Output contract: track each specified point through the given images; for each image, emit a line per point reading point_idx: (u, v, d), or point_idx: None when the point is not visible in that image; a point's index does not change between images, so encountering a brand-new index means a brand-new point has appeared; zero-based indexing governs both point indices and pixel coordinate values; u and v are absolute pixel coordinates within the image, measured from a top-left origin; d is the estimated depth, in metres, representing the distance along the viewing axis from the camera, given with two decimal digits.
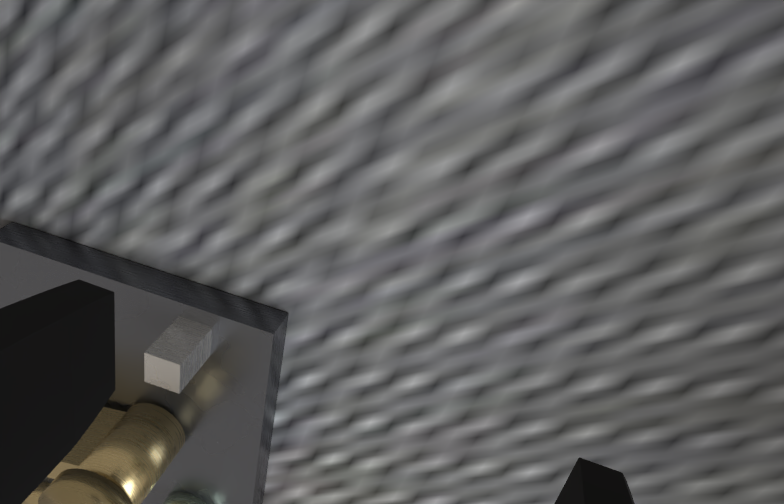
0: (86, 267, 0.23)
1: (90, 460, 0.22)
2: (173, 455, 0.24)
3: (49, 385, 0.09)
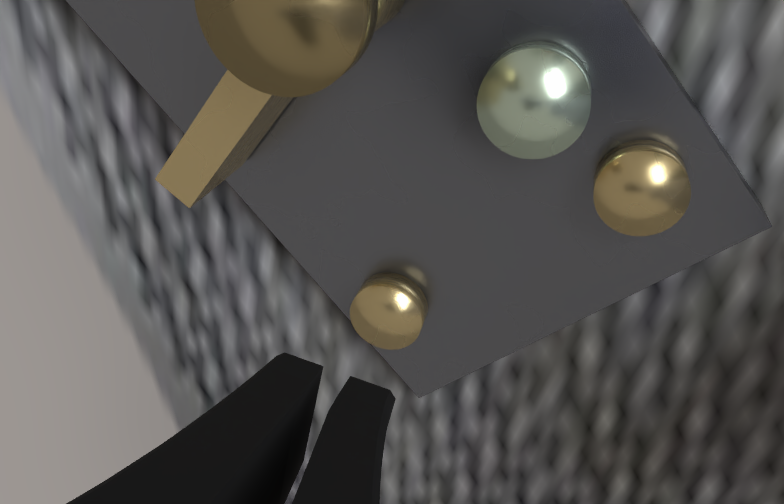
0: None
1: None
2: None
3: (275, 470, 0.09)
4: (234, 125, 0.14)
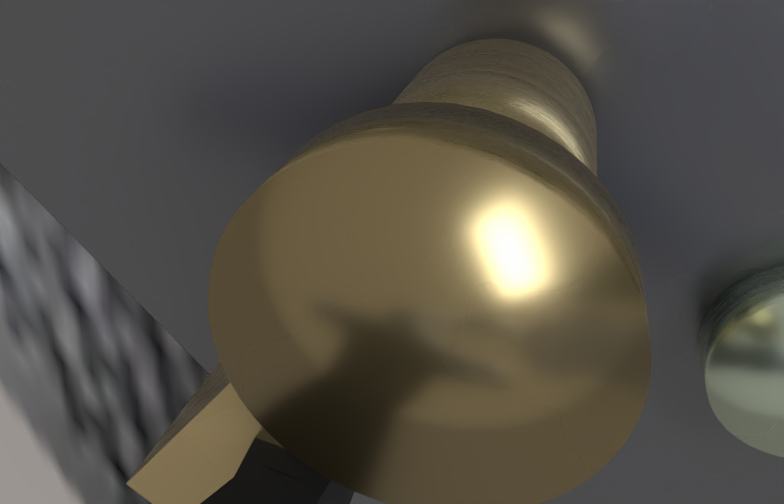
0: None
1: None
2: (581, 106, 0.07)
3: (341, 495, 0.09)
4: None
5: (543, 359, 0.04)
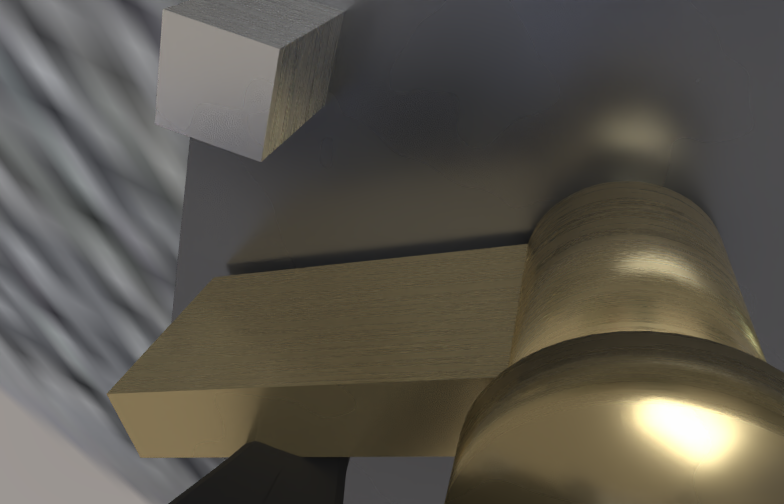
0: (181, 270, 0.11)
1: (565, 327, 0.06)
2: None
3: None
4: (319, 440, 0.07)
5: None
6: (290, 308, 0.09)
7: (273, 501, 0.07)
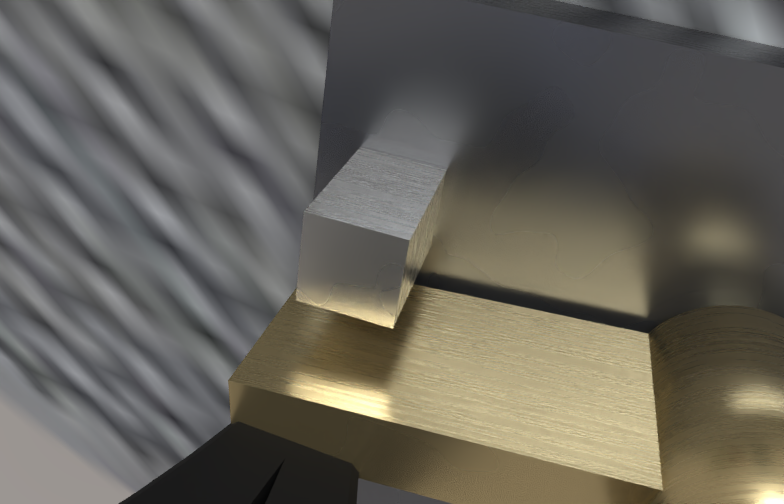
0: None
1: (754, 474, 0.06)
2: None
3: None
4: (439, 484, 0.08)
5: None
6: (413, 333, 0.09)
7: None
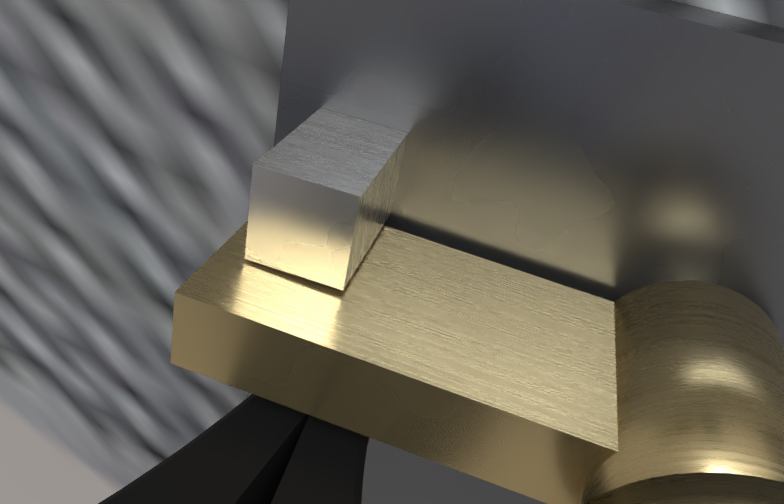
0: None
1: (715, 442, 0.06)
2: None
3: None
4: (387, 426, 0.07)
5: None
6: (376, 271, 0.08)
7: None
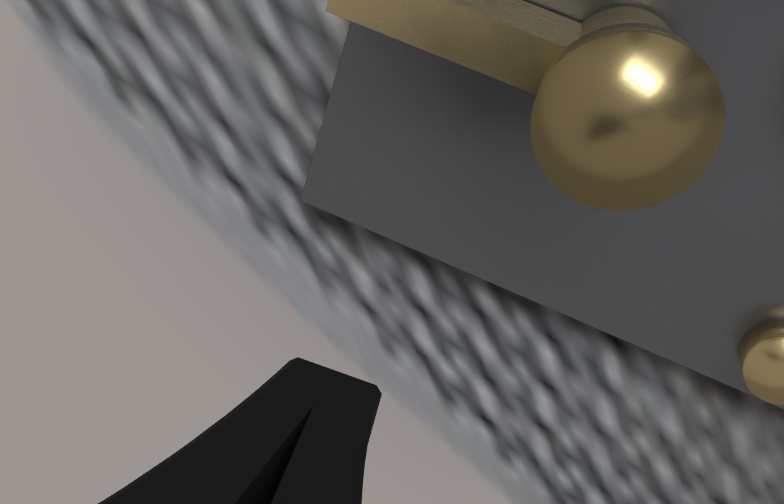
0: (337, 75, 0.17)
1: None
2: None
3: None
4: (450, 46, 0.13)
5: (644, 171, 0.11)
6: None
7: None
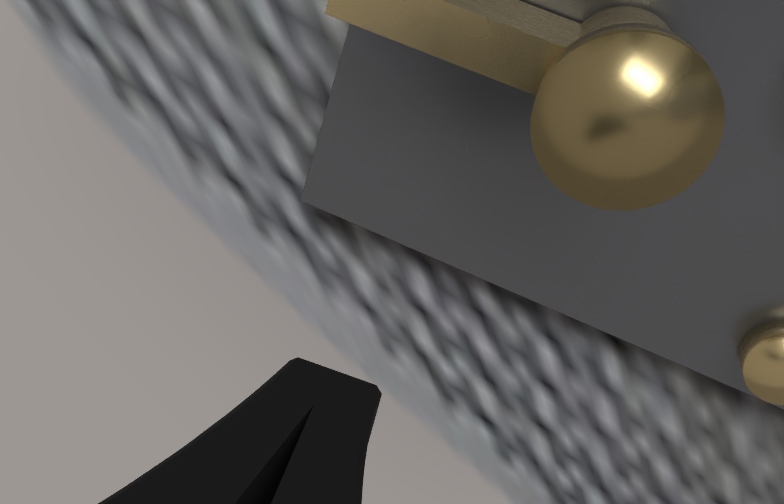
0: (337, 75, 0.17)
1: None
2: None
3: None
4: (450, 48, 0.13)
5: (644, 171, 0.11)
6: None
7: None
